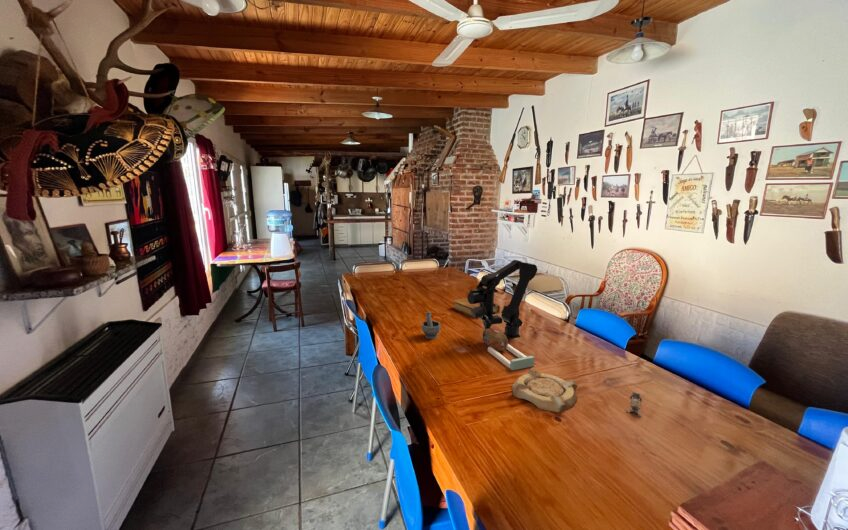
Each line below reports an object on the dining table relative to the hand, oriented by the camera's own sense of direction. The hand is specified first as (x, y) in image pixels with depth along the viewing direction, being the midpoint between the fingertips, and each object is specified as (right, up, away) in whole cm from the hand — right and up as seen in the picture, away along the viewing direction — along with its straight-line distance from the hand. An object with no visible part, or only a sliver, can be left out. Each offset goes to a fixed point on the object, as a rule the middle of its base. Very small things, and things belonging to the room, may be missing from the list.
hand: (486, 331), depth 173 cm
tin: (+3, -7, -6) cm, 10 cm away
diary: (+2, +3, +47) cm, 47 cm away
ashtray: (+13, -15, -45) cm, 49 cm away
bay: (+7, -9, -17) cm, 20 cm away
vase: (+40, -16, -55) cm, 70 cm away
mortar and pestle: (-28, -4, +7) cm, 29 cm away
